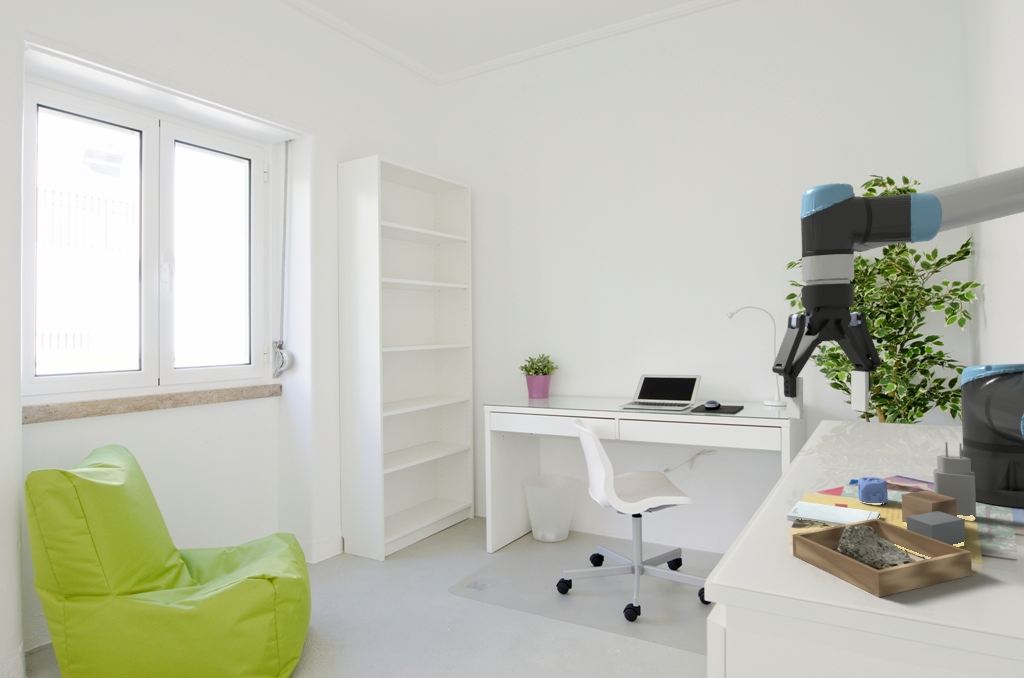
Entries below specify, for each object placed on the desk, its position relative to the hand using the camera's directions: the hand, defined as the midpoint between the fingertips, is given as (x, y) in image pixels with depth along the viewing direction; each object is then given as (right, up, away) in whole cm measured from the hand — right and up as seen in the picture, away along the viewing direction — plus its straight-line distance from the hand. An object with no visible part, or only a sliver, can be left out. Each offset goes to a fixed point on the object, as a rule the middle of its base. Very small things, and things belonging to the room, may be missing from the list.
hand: (828, 414), depth 102 cm
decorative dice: (+12, -17, +8) cm, 22 cm away
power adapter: (+20, -17, -1) cm, 26 cm away
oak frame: (-2, -18, -17) cm, 25 cm away
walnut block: (+13, -17, -5) cm, 22 cm away
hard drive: (+1, -18, +1) cm, 18 cm away
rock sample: (-2, -19, -18) cm, 26 cm away
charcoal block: (+10, -18, -12) cm, 23 cm away
